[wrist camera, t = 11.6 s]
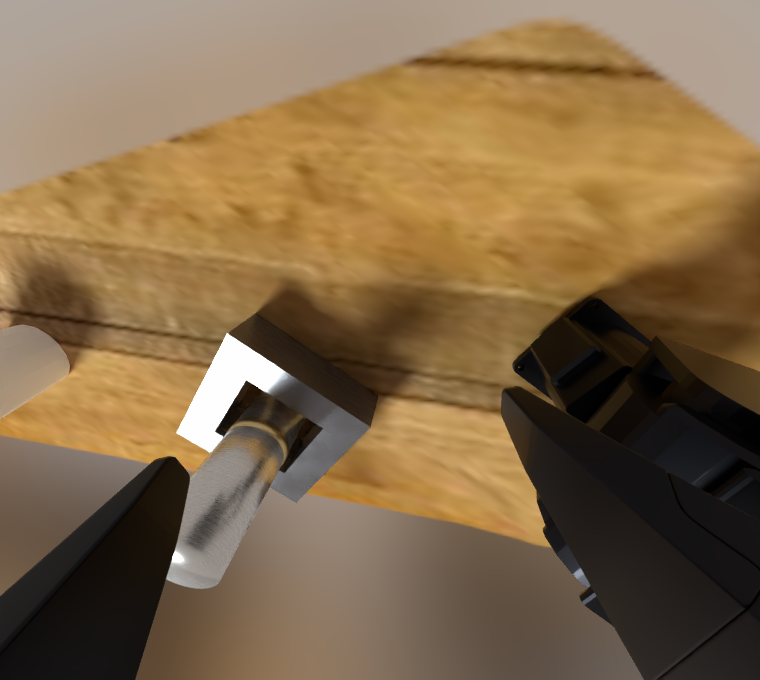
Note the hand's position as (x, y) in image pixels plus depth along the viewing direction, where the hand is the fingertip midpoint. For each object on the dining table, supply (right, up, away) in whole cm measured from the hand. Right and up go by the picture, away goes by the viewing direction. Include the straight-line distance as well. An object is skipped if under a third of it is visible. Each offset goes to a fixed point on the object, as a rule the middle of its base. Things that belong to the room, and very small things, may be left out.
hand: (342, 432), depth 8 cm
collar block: (-7, -3, +17) cm, 19 cm away
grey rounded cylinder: (-7, -3, +17) cm, 19 cm away
